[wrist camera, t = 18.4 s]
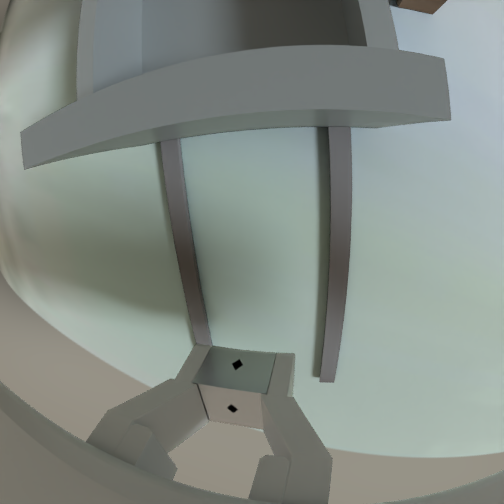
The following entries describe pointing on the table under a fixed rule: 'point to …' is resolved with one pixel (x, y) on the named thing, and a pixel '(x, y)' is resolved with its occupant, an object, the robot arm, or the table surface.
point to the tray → (234, 73)
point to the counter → (339, 230)
